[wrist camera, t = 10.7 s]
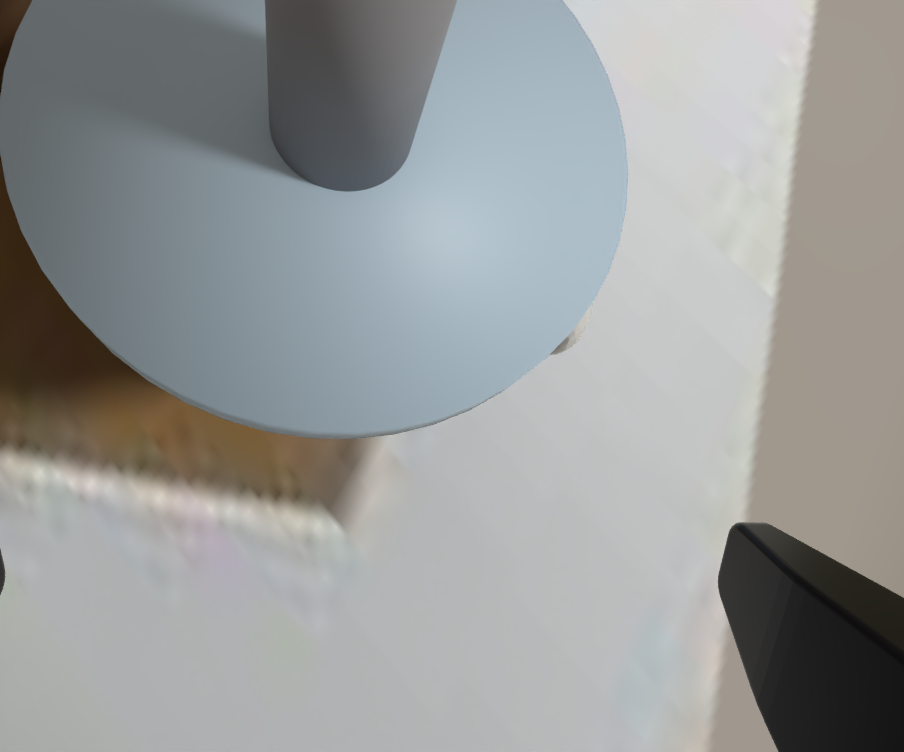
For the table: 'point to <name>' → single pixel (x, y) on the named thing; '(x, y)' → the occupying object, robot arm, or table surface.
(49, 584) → the table surface
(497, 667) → the table surface
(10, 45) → the stone
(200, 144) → the lid
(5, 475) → the table surface
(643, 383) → the table surface
